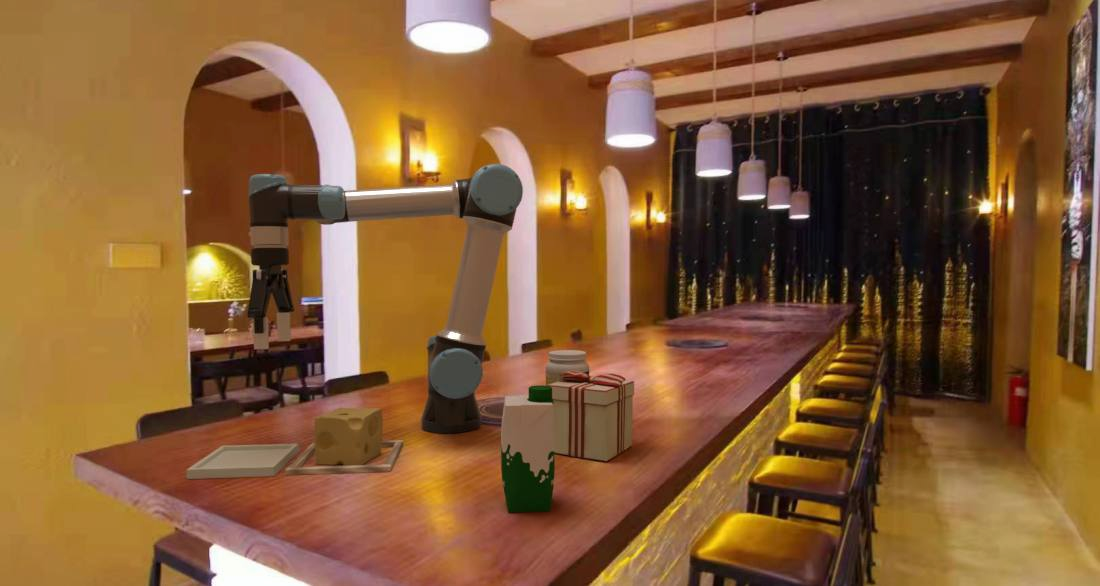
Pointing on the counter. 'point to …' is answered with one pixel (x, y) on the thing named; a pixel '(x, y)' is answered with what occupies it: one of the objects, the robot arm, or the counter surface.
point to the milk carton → (528, 450)
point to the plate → (243, 461)
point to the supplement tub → (565, 364)
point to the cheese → (348, 436)
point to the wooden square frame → (298, 470)
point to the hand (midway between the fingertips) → (273, 345)
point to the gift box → (592, 415)
